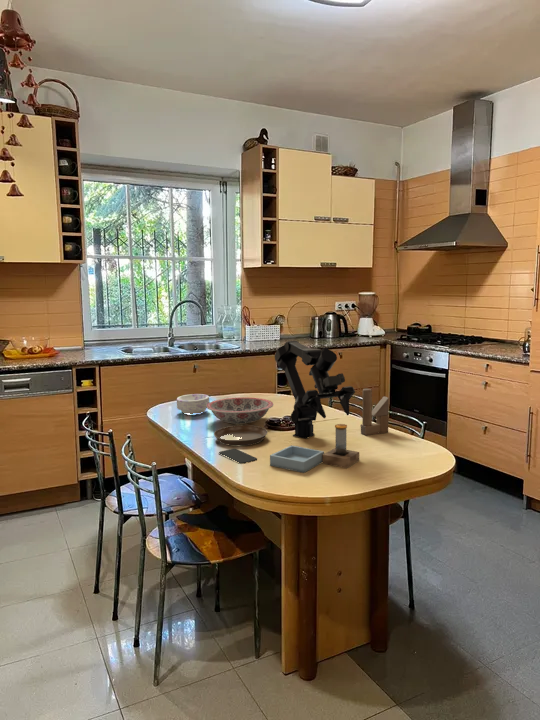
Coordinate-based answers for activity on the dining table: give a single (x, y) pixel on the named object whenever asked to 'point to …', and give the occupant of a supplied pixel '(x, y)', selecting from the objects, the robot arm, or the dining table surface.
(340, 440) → the pin
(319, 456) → the tray
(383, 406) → the wooden bracket stand
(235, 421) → the ceramic bowl
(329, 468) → the dining table surface
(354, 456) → the brown square socket base
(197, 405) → the white purple bowl
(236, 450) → the phone
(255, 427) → the plant saucer
